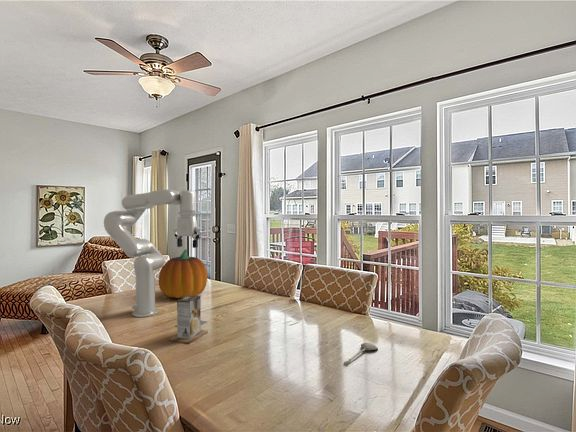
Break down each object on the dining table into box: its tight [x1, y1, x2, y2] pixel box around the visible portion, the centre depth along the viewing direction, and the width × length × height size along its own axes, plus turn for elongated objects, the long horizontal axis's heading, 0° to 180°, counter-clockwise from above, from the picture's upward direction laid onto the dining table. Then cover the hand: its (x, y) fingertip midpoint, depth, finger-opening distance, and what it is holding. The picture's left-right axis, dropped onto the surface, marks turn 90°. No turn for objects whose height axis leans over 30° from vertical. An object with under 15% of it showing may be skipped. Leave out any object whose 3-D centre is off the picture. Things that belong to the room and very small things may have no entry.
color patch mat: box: [175, 320, 208, 328], centre depth 152 cm, size 11×11×1 cm
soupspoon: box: [343, 342, 379, 366], centre depth 120 cm, size 22×3×7 cm
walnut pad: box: [169, 329, 209, 345], centre depth 137 cm, size 10×13×1 cm
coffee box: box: [176, 295, 202, 339], centre depth 137 cm, size 9×6×16 cm
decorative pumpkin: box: [158, 248, 208, 299], centre depth 204 cm, size 30×30×30 cm
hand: (187, 247), depth 162 cm, fingers open, 9 cm apart
